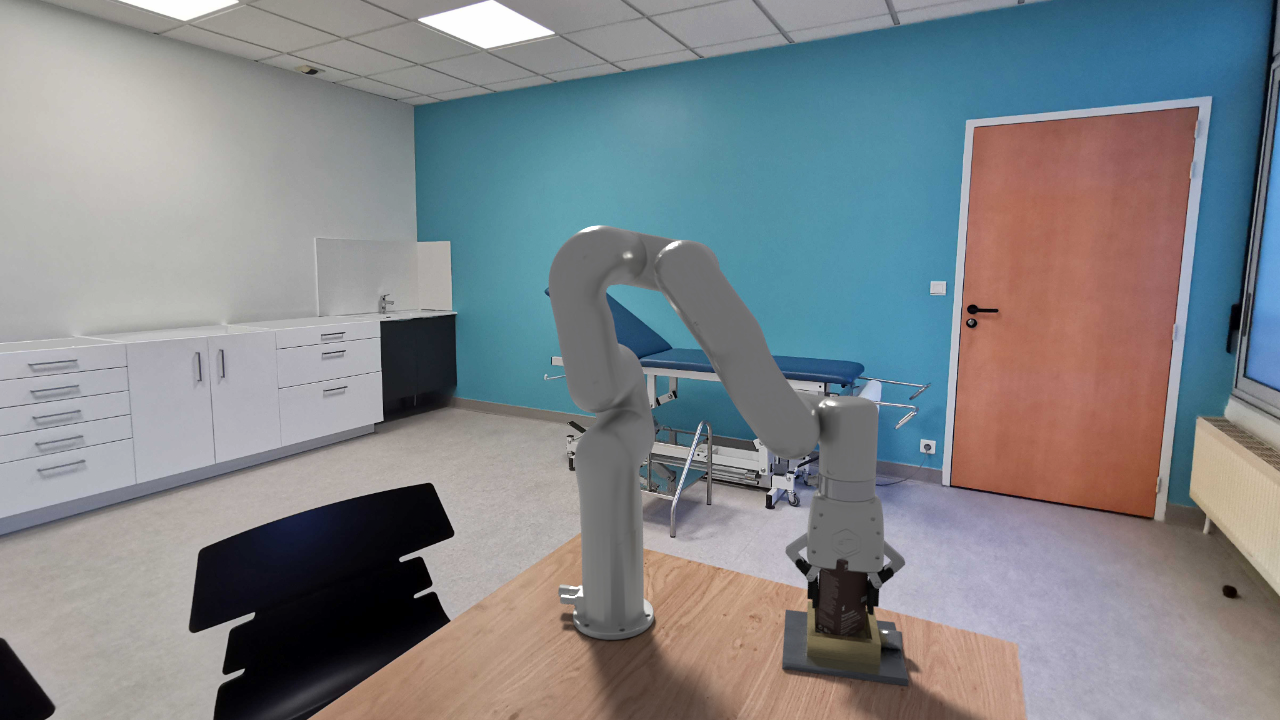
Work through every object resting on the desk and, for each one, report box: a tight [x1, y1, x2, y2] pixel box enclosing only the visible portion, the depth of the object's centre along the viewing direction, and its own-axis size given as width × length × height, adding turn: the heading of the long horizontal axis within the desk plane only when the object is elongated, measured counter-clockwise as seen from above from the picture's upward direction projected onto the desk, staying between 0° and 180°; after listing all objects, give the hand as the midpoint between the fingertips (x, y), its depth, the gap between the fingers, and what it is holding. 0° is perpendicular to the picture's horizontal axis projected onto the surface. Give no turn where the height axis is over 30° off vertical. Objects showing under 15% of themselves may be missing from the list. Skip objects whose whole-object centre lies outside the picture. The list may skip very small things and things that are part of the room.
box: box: [816, 559, 869, 637], centre depth 92 cm, size 6×4×12 cm
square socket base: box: [781, 600, 909, 687], centre depth 93 cm, size 16×14×4 cm
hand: (842, 606), depth 93 cm, fingers closed on box, 6 cm apart
